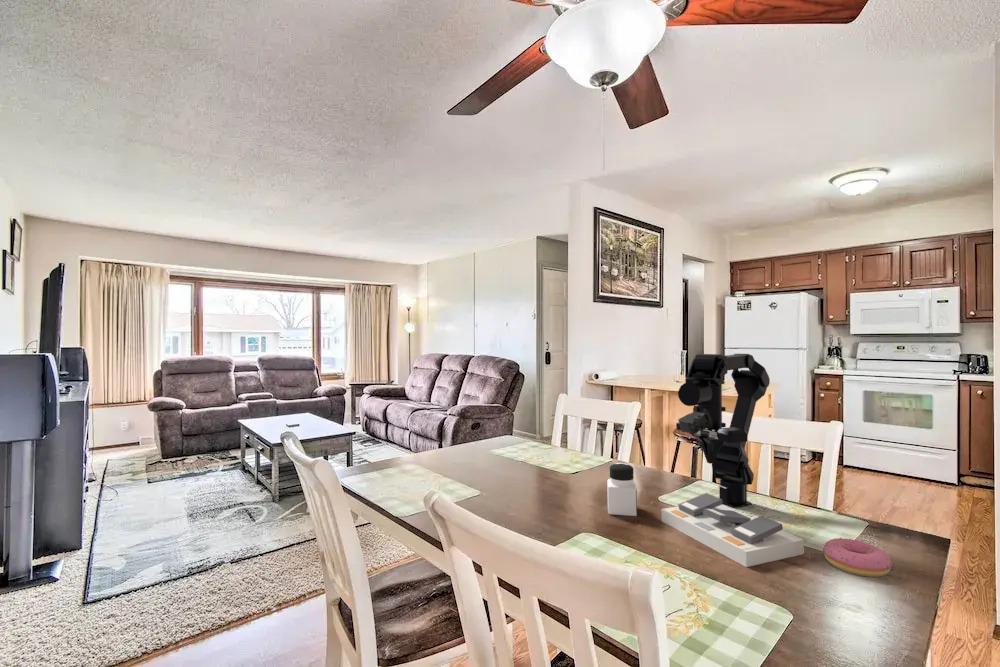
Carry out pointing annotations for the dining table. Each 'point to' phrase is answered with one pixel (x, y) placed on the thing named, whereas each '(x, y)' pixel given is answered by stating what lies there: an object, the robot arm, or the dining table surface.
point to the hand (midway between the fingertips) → (709, 463)
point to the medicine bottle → (621, 490)
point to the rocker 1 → (700, 504)
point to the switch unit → (733, 538)
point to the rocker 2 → (756, 529)
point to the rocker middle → (726, 516)
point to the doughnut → (857, 557)
